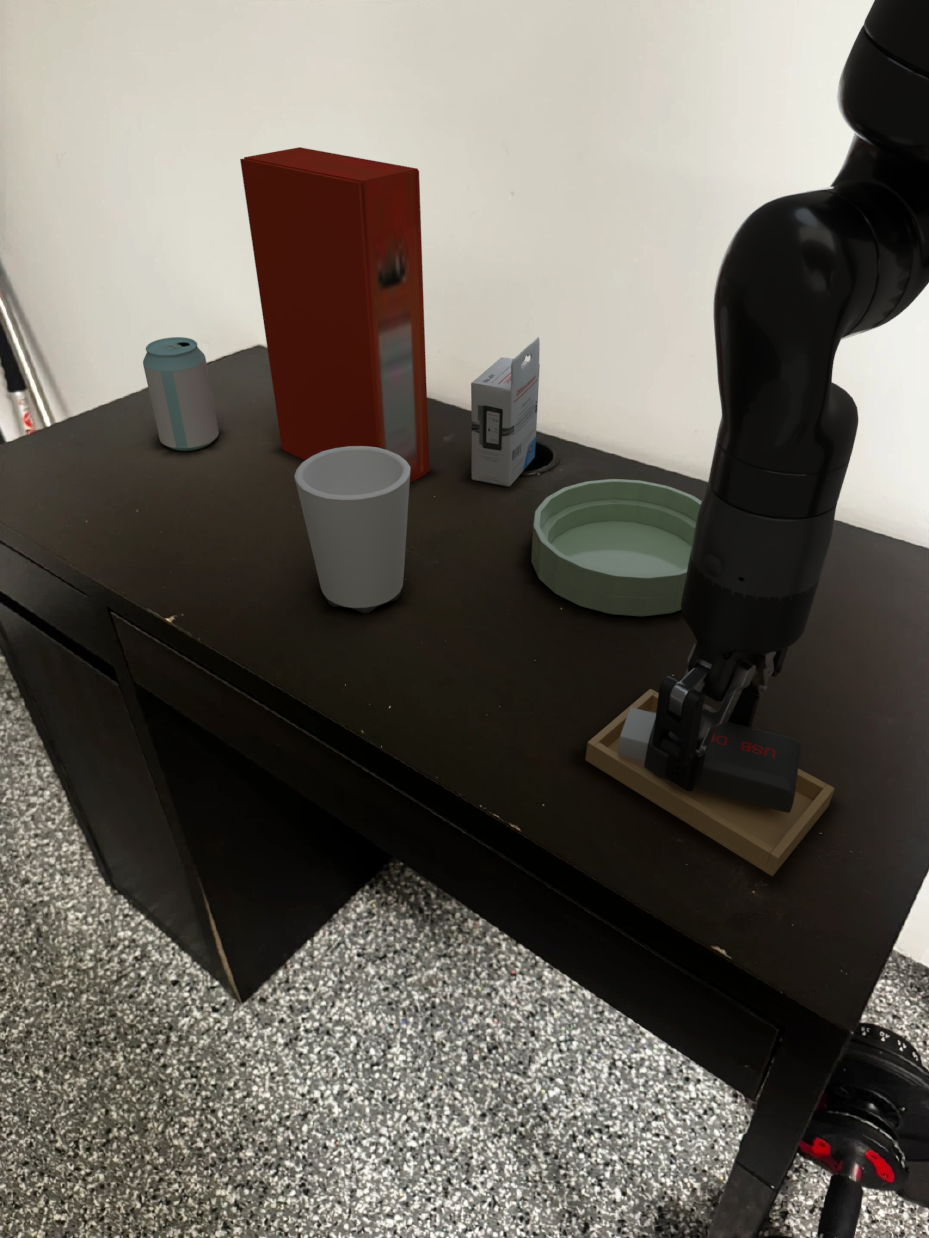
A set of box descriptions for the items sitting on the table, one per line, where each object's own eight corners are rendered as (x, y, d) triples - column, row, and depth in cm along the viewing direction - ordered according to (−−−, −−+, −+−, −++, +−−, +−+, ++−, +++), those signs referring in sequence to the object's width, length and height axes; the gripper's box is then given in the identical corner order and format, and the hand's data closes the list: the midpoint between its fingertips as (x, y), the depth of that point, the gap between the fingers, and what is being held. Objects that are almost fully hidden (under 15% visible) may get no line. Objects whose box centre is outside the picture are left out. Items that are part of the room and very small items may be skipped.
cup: (290, 588, 84) (272, 467, 76) (375, 552, 89) (366, 435, 81) (349, 637, 78) (336, 511, 70) (436, 596, 83) (433, 473, 75)
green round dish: (753, 561, 88) (762, 522, 85) (649, 644, 77) (656, 602, 74) (603, 499, 98) (607, 462, 95) (493, 565, 87) (495, 526, 84)
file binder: (378, 498, 98) (357, 181, 79) (280, 451, 107) (239, 157, 88) (429, 473, 103) (421, 168, 83) (330, 430, 112) (303, 146, 93)
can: (170, 428, 112) (151, 334, 105) (225, 429, 112) (209, 335, 105) (153, 453, 107) (130, 355, 100) (210, 454, 106) (192, 356, 99)
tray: (828, 806, 62) (835, 787, 61) (772, 876, 58) (778, 858, 57) (647, 706, 71) (650, 688, 70) (585, 760, 66) (587, 741, 65)
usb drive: (789, 813, 59) (799, 785, 58) (614, 765, 63) (618, 737, 61) (796, 761, 63) (805, 733, 61) (630, 718, 67) (634, 690, 65)
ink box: (497, 449, 107) (500, 329, 99) (536, 457, 106) (543, 335, 97) (468, 480, 101) (469, 354, 92) (509, 488, 100) (514, 361, 91)
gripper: (754, 637, 46) (701, 844, 56) (868, 532, 55) (804, 728, 65) (633, 581, 50) (604, 783, 60) (757, 492, 59) (713, 682, 69)
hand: (708, 754), depth 62 cm, fingers closed on usb drive, 6 cm apart
